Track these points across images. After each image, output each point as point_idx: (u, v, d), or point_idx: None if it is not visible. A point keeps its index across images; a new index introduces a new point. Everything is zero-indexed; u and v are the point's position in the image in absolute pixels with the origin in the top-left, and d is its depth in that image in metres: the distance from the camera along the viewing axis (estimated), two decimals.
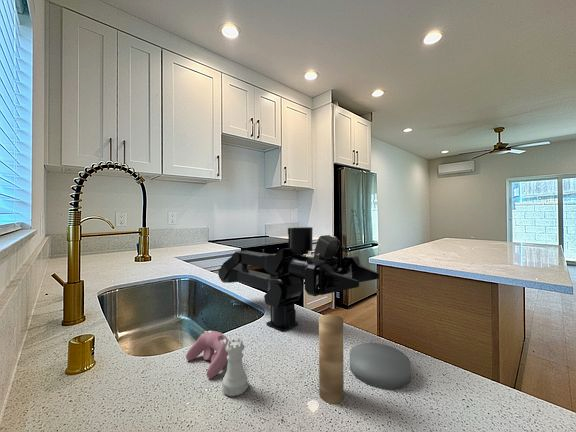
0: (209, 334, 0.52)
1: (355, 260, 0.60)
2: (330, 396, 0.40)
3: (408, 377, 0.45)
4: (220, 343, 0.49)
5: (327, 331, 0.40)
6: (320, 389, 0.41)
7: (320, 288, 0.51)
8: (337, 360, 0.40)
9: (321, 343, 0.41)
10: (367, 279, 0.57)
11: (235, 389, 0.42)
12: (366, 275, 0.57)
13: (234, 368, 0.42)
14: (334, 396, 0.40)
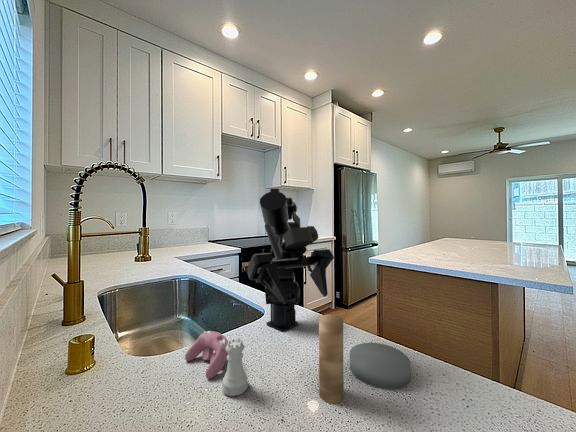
0: (208, 334, 0.52)
1: (322, 262, 0.54)
2: (330, 396, 0.40)
3: (408, 377, 0.45)
4: (219, 343, 0.49)
5: (327, 331, 0.40)
6: (320, 389, 0.41)
7: (257, 278, 0.50)
8: (337, 360, 0.40)
9: (321, 343, 0.41)
10: (318, 287, 0.54)
11: (235, 389, 0.42)
12: (319, 283, 0.53)
13: (234, 368, 0.42)
14: (334, 396, 0.40)
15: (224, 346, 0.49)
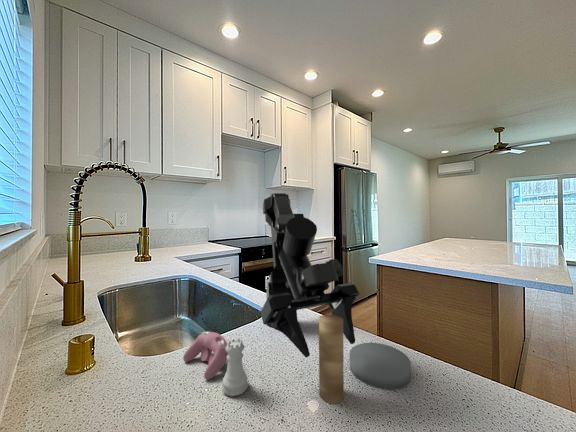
0: (206, 335, 0.51)
1: (347, 301, 0.47)
2: (330, 396, 0.40)
3: (408, 377, 0.45)
4: (218, 344, 0.49)
5: (327, 331, 0.40)
6: (320, 389, 0.41)
7: (273, 323, 0.43)
8: (337, 360, 0.40)
9: (321, 343, 0.41)
10: None
11: (235, 389, 0.42)
12: (344, 327, 0.46)
13: (234, 368, 0.42)
14: (334, 396, 0.40)
15: (223, 347, 0.48)
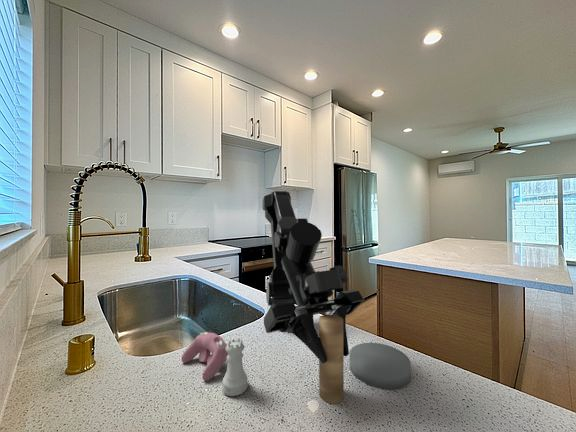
0: (205, 336, 0.51)
1: (341, 311, 0.45)
2: (330, 396, 0.40)
3: (408, 377, 0.45)
4: (216, 345, 0.49)
5: (327, 331, 0.40)
6: (320, 389, 0.41)
7: (289, 329, 0.43)
8: (337, 360, 0.40)
9: (321, 343, 0.41)
10: None
11: (235, 389, 0.42)
12: None
13: (234, 368, 0.42)
14: (334, 396, 0.40)
15: (221, 348, 0.48)
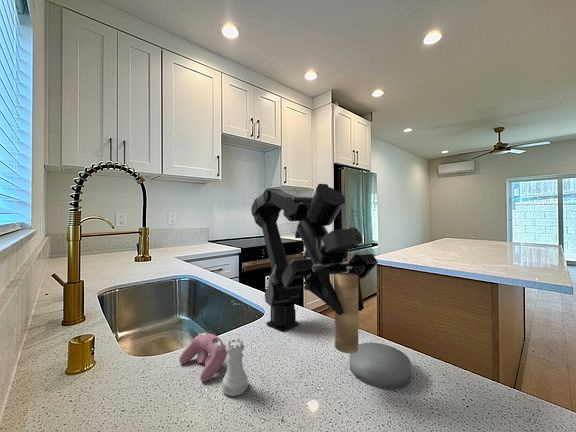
0: (203, 337, 0.51)
1: (356, 270, 0.47)
2: (346, 346, 0.42)
3: (408, 377, 0.45)
4: (214, 346, 0.48)
5: (343, 284, 0.42)
6: (336, 341, 0.43)
7: (306, 285, 0.46)
8: (353, 312, 0.42)
9: None
10: None
11: (235, 389, 0.42)
12: None
13: (234, 368, 0.42)
14: (349, 346, 0.42)
15: (219, 348, 0.48)
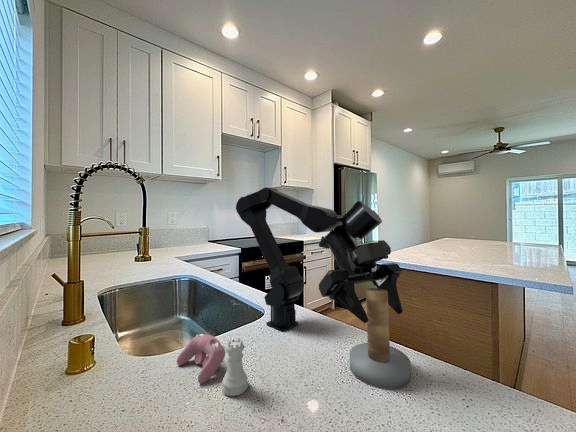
0: (201, 338, 0.50)
1: (393, 277, 0.52)
2: (379, 355, 0.47)
3: (408, 377, 0.45)
4: (212, 347, 0.48)
5: (375, 299, 0.47)
6: (370, 351, 0.48)
7: (332, 295, 0.49)
8: (385, 324, 0.47)
9: (370, 310, 0.48)
10: (389, 303, 0.52)
11: (235, 389, 0.42)
12: (391, 300, 0.52)
13: (234, 368, 0.42)
14: (383, 355, 0.47)
15: (217, 350, 0.47)
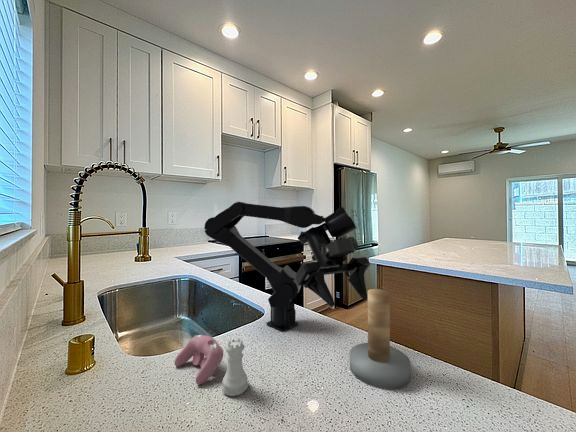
0: (199, 339, 0.50)
1: (361, 269, 0.61)
2: (380, 356, 0.47)
3: (408, 377, 0.45)
4: (210, 348, 0.47)
5: (376, 301, 0.47)
6: (370, 351, 0.48)
7: (305, 284, 0.57)
8: (386, 325, 0.47)
9: (371, 311, 0.48)
10: (357, 291, 0.60)
11: (235, 389, 0.42)
12: (359, 288, 0.60)
13: (234, 368, 0.42)
14: (383, 356, 0.47)
15: (215, 351, 0.47)
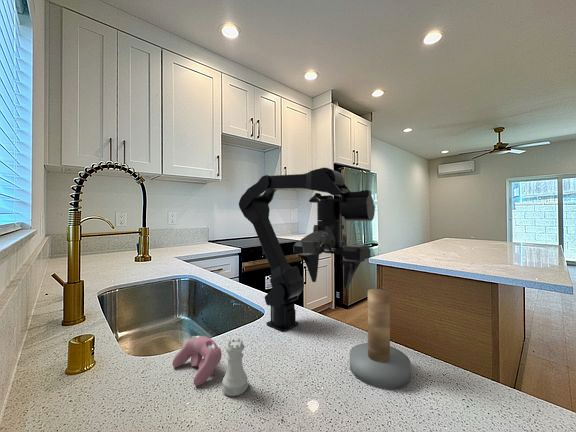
0: (197, 339, 0.50)
1: (344, 263, 0.55)
2: (380, 356, 0.47)
3: (408, 377, 0.45)
4: (208, 349, 0.47)
5: (377, 300, 0.47)
6: (370, 351, 0.48)
7: None
8: (386, 325, 0.47)
9: (371, 311, 0.48)
10: None
11: (235, 389, 0.42)
12: None
13: (234, 368, 0.42)
14: (383, 356, 0.47)
15: (213, 352, 0.47)
